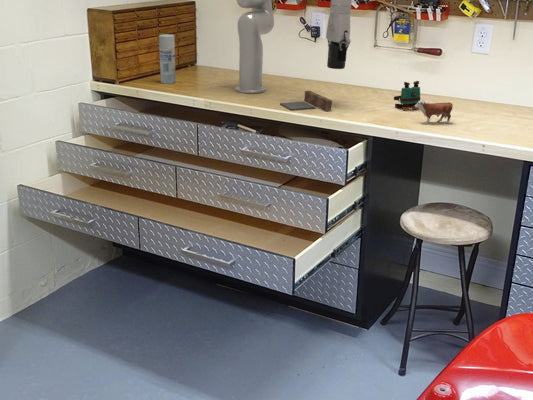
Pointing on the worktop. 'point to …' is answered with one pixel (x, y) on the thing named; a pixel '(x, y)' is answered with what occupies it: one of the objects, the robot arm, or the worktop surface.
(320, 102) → the walnut rail
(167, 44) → the spray paint can
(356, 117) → the worktop surface
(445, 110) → the bull figurine
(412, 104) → the binoculars
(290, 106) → the pad
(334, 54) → the supplement bottle
